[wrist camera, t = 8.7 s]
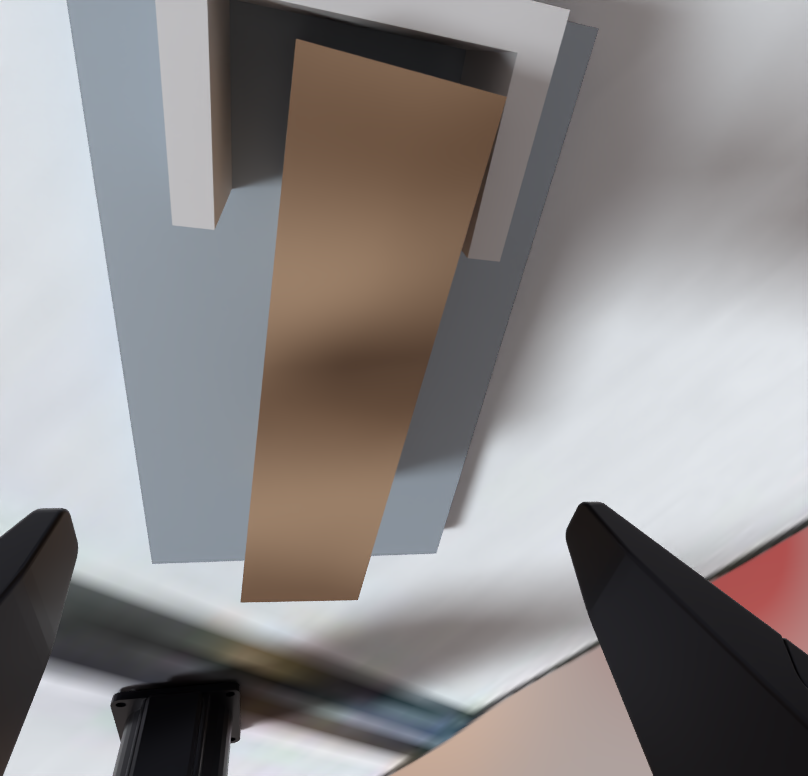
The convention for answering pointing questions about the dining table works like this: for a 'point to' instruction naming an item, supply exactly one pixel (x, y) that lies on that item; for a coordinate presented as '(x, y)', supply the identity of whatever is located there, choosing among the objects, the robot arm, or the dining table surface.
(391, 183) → the brown wooden block
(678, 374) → the dining table surface
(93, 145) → the bracket
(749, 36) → the dining table surface
